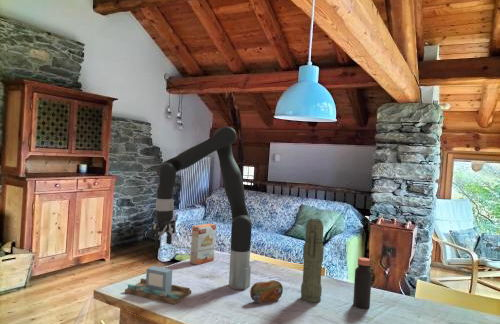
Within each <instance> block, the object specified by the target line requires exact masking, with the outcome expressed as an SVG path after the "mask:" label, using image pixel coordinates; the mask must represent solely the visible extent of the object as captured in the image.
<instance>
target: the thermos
mask: <svg viewBox="0 0 500 324" xmlns="http://www.w3.org/2000/svg"><path fill="white" fill-rule="evenodd" d="M323 239H324V224H323V220H321V219H320V218H319V219H318V218H309V219H307V222H306V225H305V241H304V245H303V247H302V250H303V251H302V260H303V270H302V272H303V273H302V283H301V285H300V299H301V301H302V302H305V303H309V304H318V303H321V300H322V298H321V297H322V293H323V292H322V291H323V288H322V284H321V283H322V267H323V266H322V264H323V261H324V253H325V249H324V241H323Z"/></svg>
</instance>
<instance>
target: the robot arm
mask: <svg viewBox="0 0 500 324" xmlns="http://www.w3.org/2000/svg"><path fill="white" fill-rule="evenodd" d="M236 140H237V132H236V130H235V129H234V128H232V127H231V126H223V127H220V128H217V129H216V130H215V131H214V132H213V135H212V136H210V137H209V138H208V139H206V140H204V141H202V142H200V143H198V144H196V145H194V146H192V147H189V148H187V149H186V150H184V151H182V152H181V153H179V154H177V155H176V156H174V157H172V158H169V159H167V160H165V161H162V162H161V163H159V165H157V167H156V176H158V177H159V182H158V183H159V184H158V186H157V188H156V189H157V190H156V202H155V216H154V217H155V220H156V221H157V223H155V224H153V223H152V225H151V236H150V237H151V239H153V240H154V248H155V249H160V248H161V238H162V236H163V235H164V234H166V243H165V244H166V245H171V244H172V239H173V237H172V236H174V235H173V234H175V233H176V220H174V211H175V210H174V206H175V205H174V204H175V202H174V191H175V190H174V189H175V188H174V187H175V183H176V177H177V173H178V172H179V171H182V170H186V169H188V168H190V167H191V166H193V165H195V164H196V163H197V162H199V161H201V160H203V159H204V158H206V157H207V156H210V155H211V154H213V153H214V152H216V154H217V156H218V162H219V167H220V173H221V179H222V183H223V188H224V193H225V195H226V198H227V200H228V203H229V206H230V211H231V213H230V214H231V221H232V222H231V229H230V230H231V232H230V252H229V253H230V256H229V270H228V271H229V275H228V287H229V288H230V289H233V290H247V289H248V288H249V287H250V285H251V271H252V270H251V269H252V266H251V265H250V264H251V261H250V258H251V245H252V229H253V228H252V220H251V218H250V215H249V213H248V209H247V205H246V200H245V199H246V197H245V186H244V179H243V177H242V173H241V169H240V167H239V166H238V163H237V162H236V160H235V157H234V154H233V149H232V148H233V147H232V145H233V144H234V143H235V142H236Z"/></svg>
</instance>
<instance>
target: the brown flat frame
mask: <svg viewBox="0 0 500 324" xmlns="http://www.w3.org/2000/svg"><path fill="white" fill-rule="evenodd" d="M139 281H140V282H138V283H136V284H131V283H129V284H127V288H125V289H124V294H128V295H133V296H136V297H137V296H138V297H141V298H145V299H149V300H153V301H157V302H162V303H167V304H171V305H177V304H178V303H180V302H181V301H182V300H184V299H186V298H187V297H188V296H190V295H191V294H192V290H191V289H190V288H189V287H185V286H181V285H176V284H172V286H171V291H169V292H164V291H159V290H155V289H150V288H146V278H140V280H139Z"/></svg>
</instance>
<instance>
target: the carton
mask: <svg viewBox="0 0 500 324" xmlns="http://www.w3.org/2000/svg"><path fill="white" fill-rule="evenodd" d="M145 277H146V278H145V279H146V288H150V289H155V290H159V291H164V292H169V291H171V286H172V285H173V269H171V268H166V267H160V266H156V265H151V266H150V267H147V268H146V273H145Z"/></svg>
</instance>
